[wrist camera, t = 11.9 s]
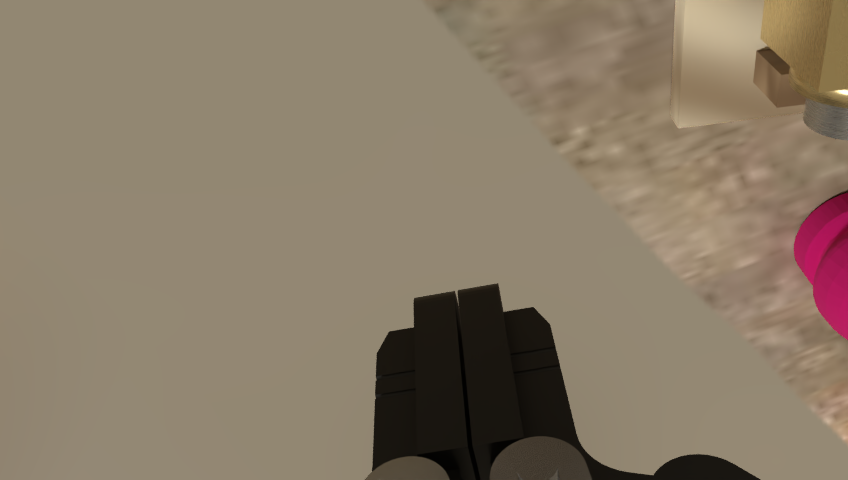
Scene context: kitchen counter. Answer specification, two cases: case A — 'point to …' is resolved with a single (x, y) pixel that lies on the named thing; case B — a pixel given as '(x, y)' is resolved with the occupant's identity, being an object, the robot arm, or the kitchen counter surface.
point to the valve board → (726, 66)
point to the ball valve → (813, 57)
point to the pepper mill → (827, 259)
